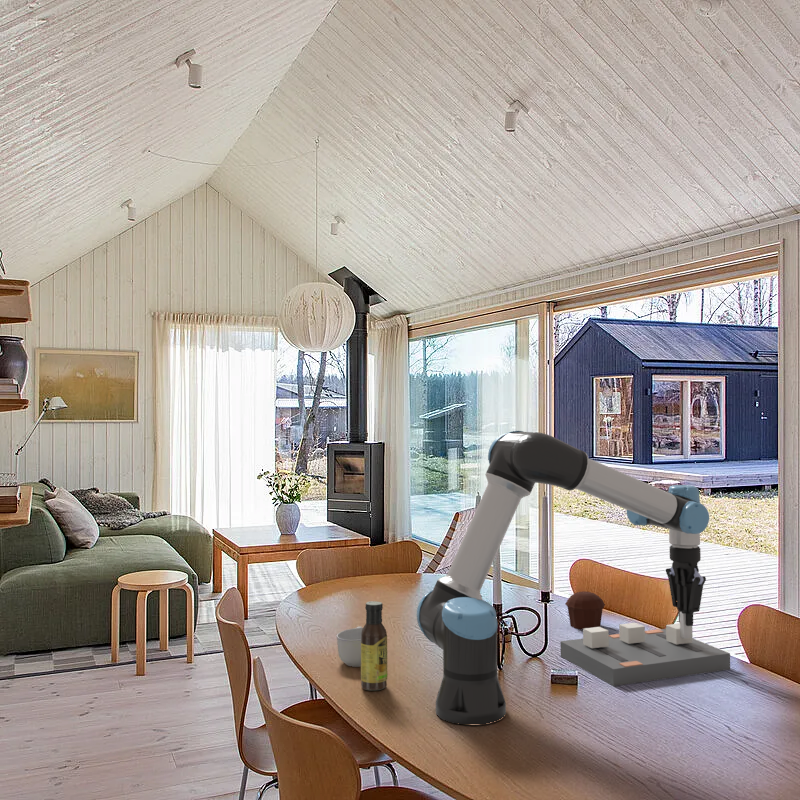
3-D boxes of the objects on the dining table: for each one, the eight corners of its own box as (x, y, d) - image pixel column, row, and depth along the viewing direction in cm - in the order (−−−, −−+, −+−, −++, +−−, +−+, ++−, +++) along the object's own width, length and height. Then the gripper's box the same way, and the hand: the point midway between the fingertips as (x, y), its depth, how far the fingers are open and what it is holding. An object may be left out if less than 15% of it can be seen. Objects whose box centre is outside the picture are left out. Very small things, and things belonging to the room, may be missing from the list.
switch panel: (730, 669, 196) (730, 652, 196) (613, 686, 185) (613, 668, 185) (668, 642, 219) (667, 627, 219) (560, 656, 208) (560, 640, 208)
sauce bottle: (383, 693, 182) (383, 607, 182) (357, 691, 184) (357, 605, 184) (390, 683, 188) (389, 600, 189) (365, 682, 190) (364, 599, 190)
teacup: (373, 671, 198) (372, 639, 198) (331, 669, 200) (331, 637, 200) (385, 654, 211) (385, 624, 211) (346, 652, 213) (346, 622, 214)
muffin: (592, 619, 244) (592, 587, 244) (612, 629, 233) (612, 595, 234) (558, 623, 240) (558, 590, 240) (577, 632, 230) (577, 598, 230)
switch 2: (692, 642, 204) (692, 627, 204) (676, 644, 203) (676, 629, 203) (682, 638, 208) (681, 623, 208) (666, 640, 206) (666, 625, 207)
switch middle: (645, 641, 205) (644, 626, 205) (628, 643, 204) (628, 628, 204) (635, 637, 209) (635, 622, 209) (619, 639, 208) (619, 624, 208)
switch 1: (608, 646, 202) (608, 630, 202) (591, 648, 200) (591, 632, 200) (599, 642, 206) (599, 626, 206) (583, 644, 204) (583, 628, 204)
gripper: (714, 548, 198) (715, 642, 198) (680, 540, 211) (681, 629, 210) (689, 550, 196) (691, 645, 196) (656, 542, 208) (658, 632, 208)
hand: (686, 637), depth 203 cm, fingers closed
